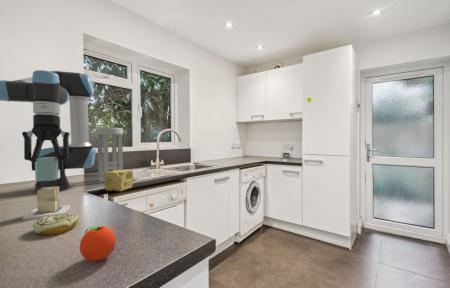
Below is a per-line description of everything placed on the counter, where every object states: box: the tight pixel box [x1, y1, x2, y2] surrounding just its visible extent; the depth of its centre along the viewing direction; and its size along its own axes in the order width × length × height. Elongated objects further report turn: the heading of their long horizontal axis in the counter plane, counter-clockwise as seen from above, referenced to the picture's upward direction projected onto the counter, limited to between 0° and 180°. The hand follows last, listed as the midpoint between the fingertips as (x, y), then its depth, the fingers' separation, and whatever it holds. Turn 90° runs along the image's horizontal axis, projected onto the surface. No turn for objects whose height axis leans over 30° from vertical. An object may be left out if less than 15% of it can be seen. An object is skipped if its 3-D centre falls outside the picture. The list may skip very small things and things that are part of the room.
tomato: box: [79, 225, 117, 262], centre depth 47 cm, size 8×7×7 cm
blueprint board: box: [22, 204, 71, 221], centre depth 79 cm, size 11×11×1 cm
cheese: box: [104, 169, 134, 192], centre depth 118 cm, size 10×11×10 cm
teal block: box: [36, 157, 58, 181], centre depth 79 cm, size 5×5×8 cm
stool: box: [95, 127, 124, 183], centre depth 145 cm, size 16×16×35 cm
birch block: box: [36, 187, 60, 213], centre depth 79 cm, size 5×5×8 cm
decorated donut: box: [32, 212, 79, 237], centre depth 64 cm, size 10×11×4 cm
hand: (48, 178), depth 79 cm, fingers closed on teal block, 5 cm apart
